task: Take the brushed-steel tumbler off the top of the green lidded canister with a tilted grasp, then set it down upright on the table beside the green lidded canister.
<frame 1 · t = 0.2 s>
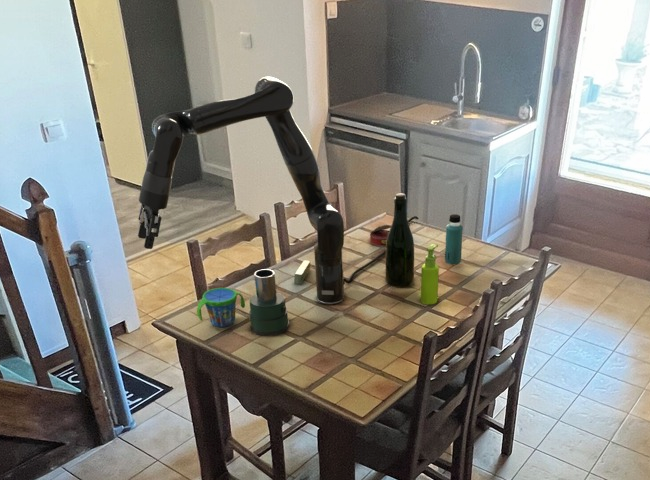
hand: (144, 243, 198), 31 cm above the table, tool tilted 20°, fingers open, 8 cm apart
canned food: (382, 241, 283), on the table
medication box: (302, 277, 253), on the table
wine bottle: (399, 282, 251), on the table
green lidded canister: (270, 326, 222), on the table
tumbler: (267, 299, 216), point 10 cm above the table, touching green lidded canister
soap dispenser: (429, 300, 240), on the table
beverage bottle: (452, 265, 265), on the table
snack cup: (223, 323, 223), on the table
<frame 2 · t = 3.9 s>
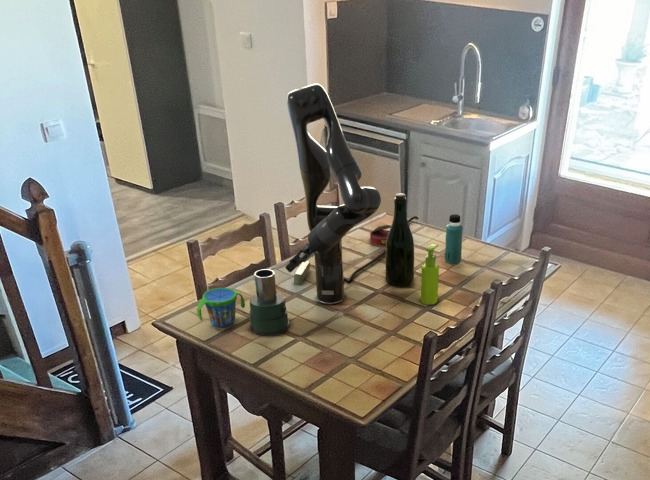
hand: (295, 264, 205), 24 cm above the table, tool tilted 45°, fingers open, 8 cm apart
nothing on the table moved.
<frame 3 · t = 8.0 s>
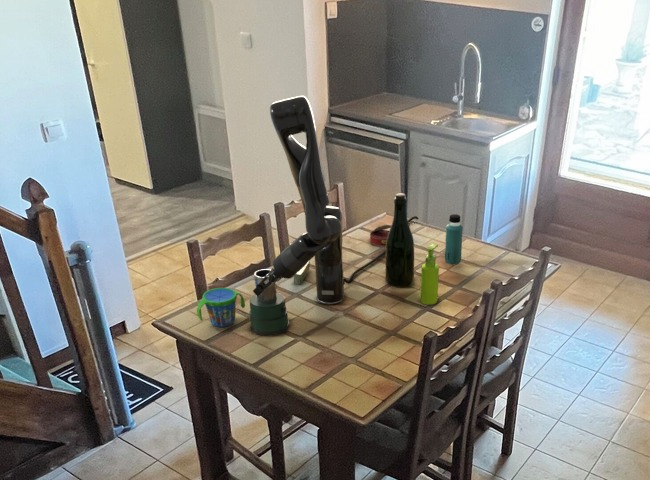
hand: (261, 288, 215), 13 cm above the table, tool tilted 45°, fingers closed on tumbler, 6 cm apart
tumbler: (267, 299, 216), point 10 cm above the table, touching gripper, green lidded canister
everything else where it was.
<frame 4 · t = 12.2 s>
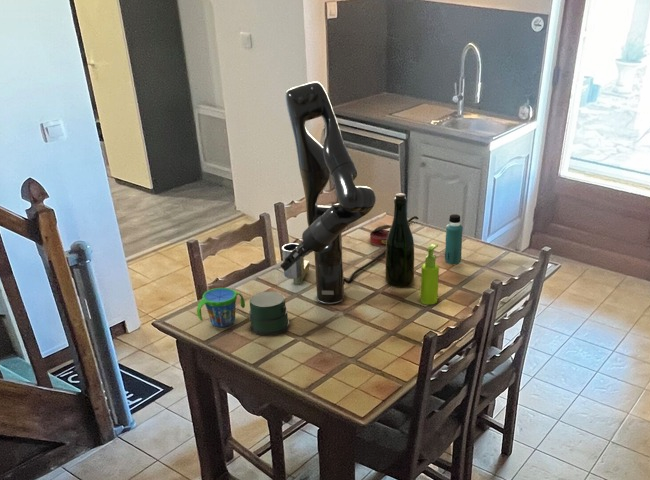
hand: (288, 263, 206), 24 cm above the table, tool tilted 45°, fingers closed on tumbler, 6 cm apart
tumbler: (294, 274, 207), point 21 cm above the table, touching gripper
everything else where it was.
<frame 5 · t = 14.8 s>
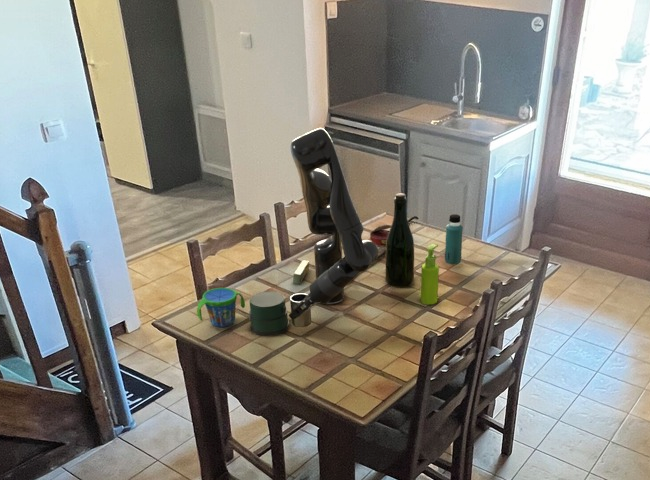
hand: (296, 312, 215), 7 cm above the table, tool tilted 45°, fingers closed on tumbler, 6 cm apart
tumbler: (301, 323, 216), point 4 cm above the table, touching gripper
everything else where it was.
when the fingers open (3 cm above the table, at t = 16.6 s): tumbler stays where it is, on the table.
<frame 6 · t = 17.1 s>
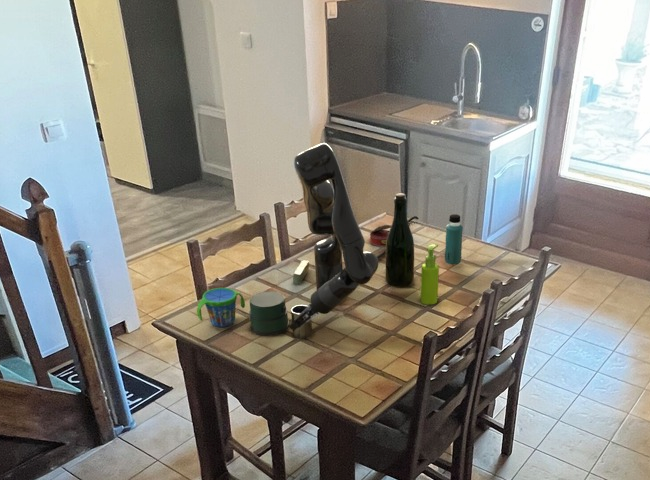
hand: (298, 321, 216), 4 cm above the table, tool tilted 45°, fingers open, 8 cm apart
tumbler: (302, 334, 218), on the table
everything else where it was.
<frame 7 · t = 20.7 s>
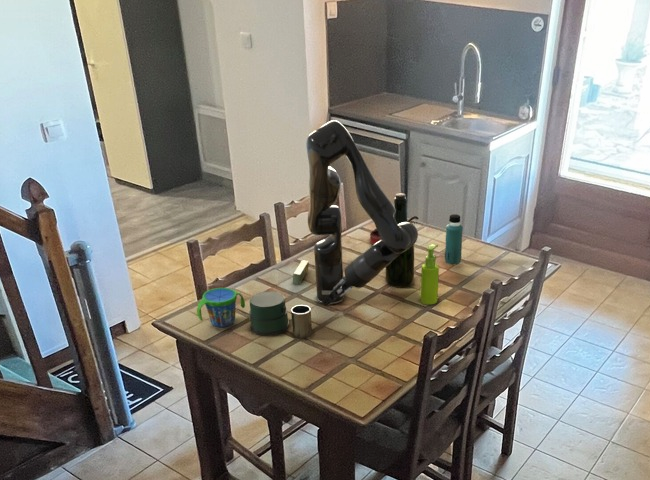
hand: (330, 297, 207), 15 cm above the table, tool tilted 45°, fingers open, 8 cm apart
nothing on the table moved.
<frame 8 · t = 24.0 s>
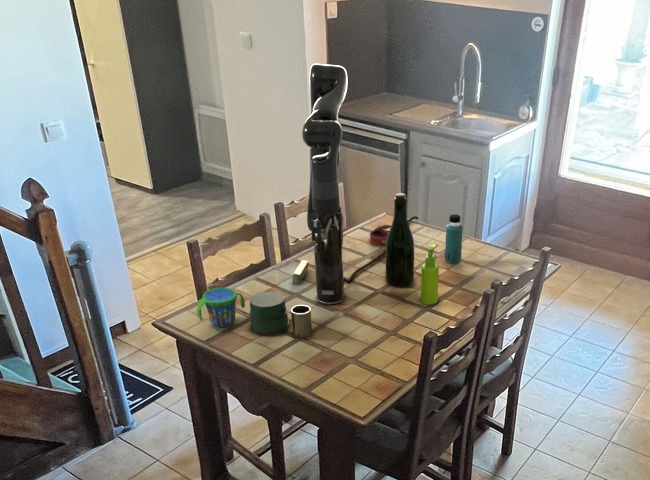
hand: (328, 247, 202), 30 cm above the table, tool pointing down, fingers open, 8 cm apart
nothing on the table moved.
at the end: tumbler inside the target area (0.1 cm from its centre), on the table; tumbler tilted 0°; tumbler touching table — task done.
